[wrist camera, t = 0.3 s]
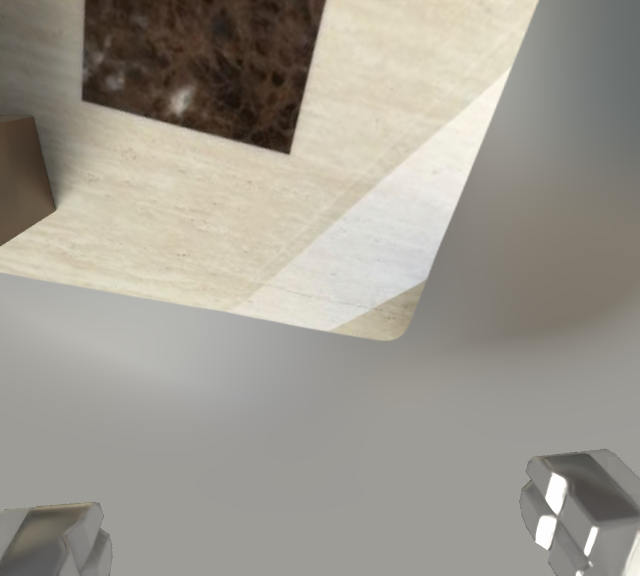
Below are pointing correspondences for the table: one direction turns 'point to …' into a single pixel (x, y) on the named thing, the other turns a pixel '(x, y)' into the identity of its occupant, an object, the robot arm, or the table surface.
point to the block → (21, 177)
